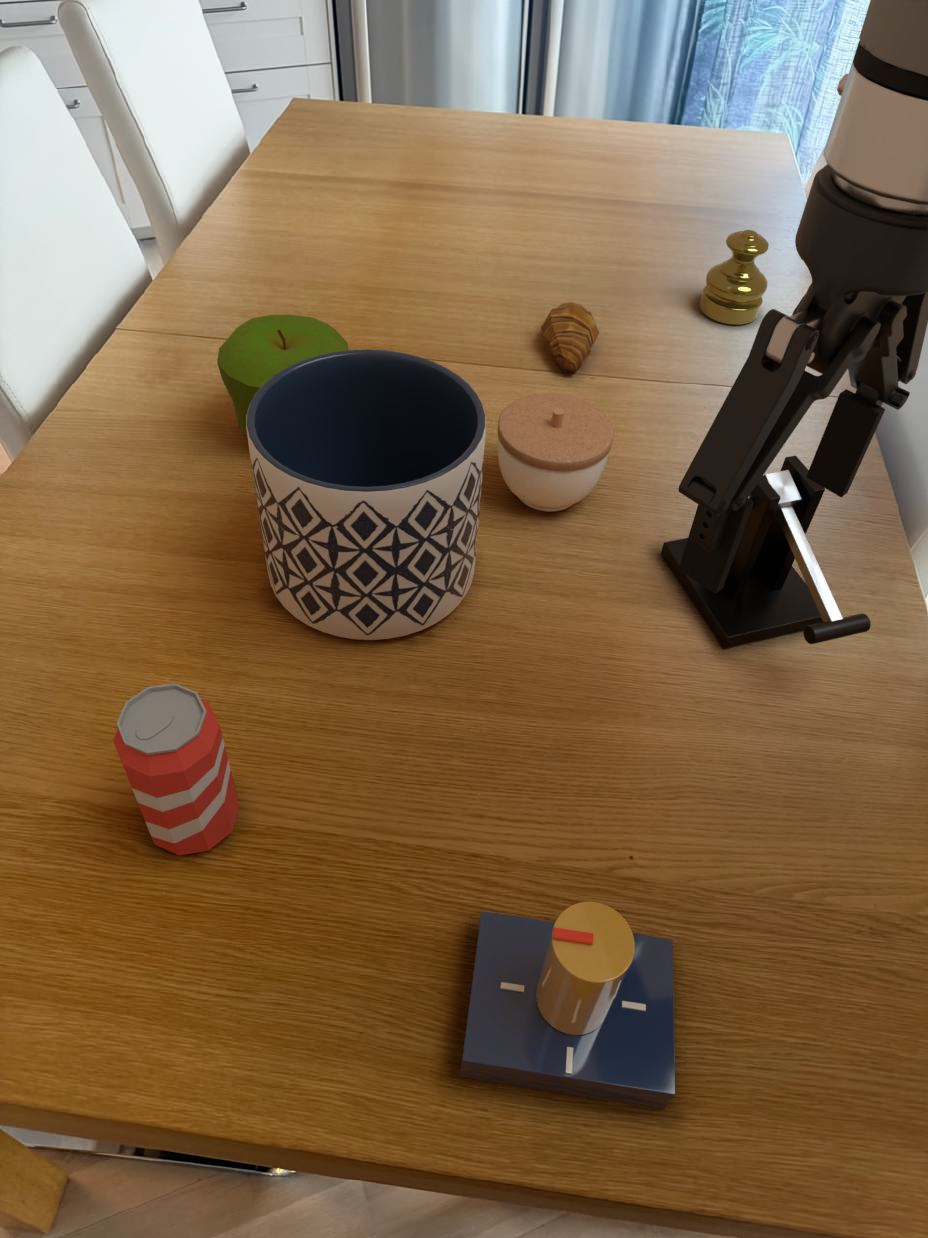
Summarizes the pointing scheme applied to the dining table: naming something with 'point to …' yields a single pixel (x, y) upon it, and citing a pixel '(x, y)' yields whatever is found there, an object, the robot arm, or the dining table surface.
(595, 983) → the valve knob
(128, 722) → the beverage can
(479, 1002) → the valve plate
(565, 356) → the croissant
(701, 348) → the dining table surface
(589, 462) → the trinket box
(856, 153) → the robot arm
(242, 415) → the apple
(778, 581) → the black angular piece
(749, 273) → the gold metal turned piece
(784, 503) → the faucet lever
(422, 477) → the planter
